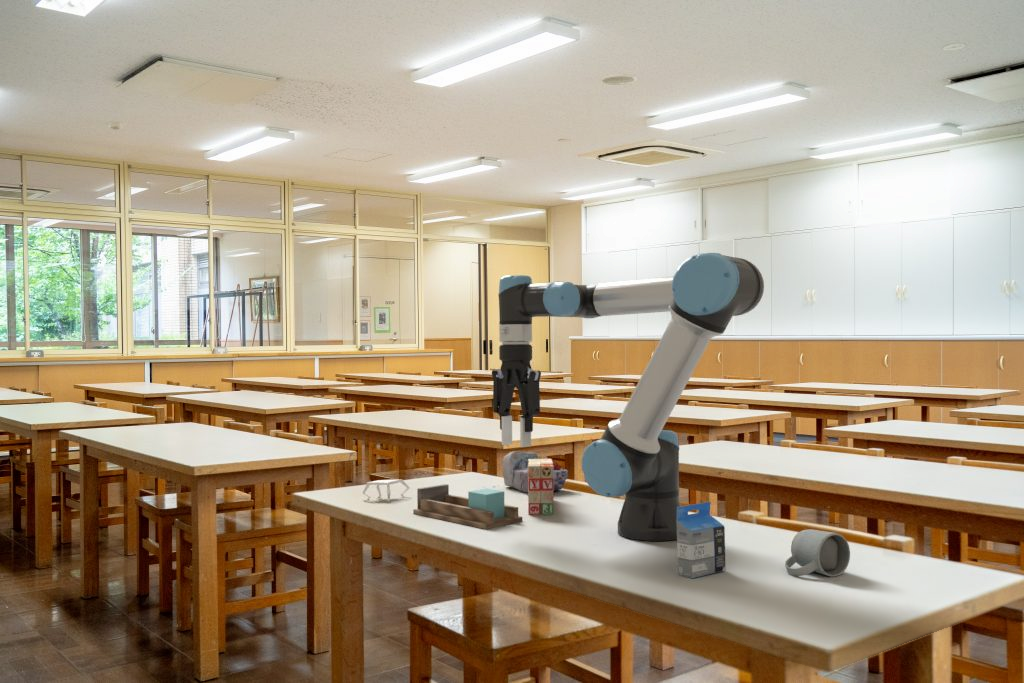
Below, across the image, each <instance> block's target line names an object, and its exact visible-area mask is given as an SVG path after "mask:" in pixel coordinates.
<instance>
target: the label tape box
mask: <svg viewBox="0 0 1024 683" xmlns="http://www.w3.org/2000/svg"><path fill="white" fill-rule="evenodd" d="M711 503H712V502H711V501H707V502H699V503H694V504H686V505H681V506H680V507H677V520H676V524H677V539H676V549H677V550H676V552H677V555H676V556H677V574H678V575H680V576H682V577H685V578H691V579H694V578H699V577H703V576H707V575H711V574H715V573H716V574H717V573H721V572H723V571H726V567H727V566H726V539H725V538H726V537H725V536H726V533H725V532H726V531H725V530H726V529H725V525H724V524H723V523H722V522H720V521H719V520H718V519H716V518H715V517H714V516H712V515H711V514H710V513H711ZM693 510H694V511H698V512H695V513H689V512H693Z"/></svg>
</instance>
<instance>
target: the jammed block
mask: <svg viewBox="0 0 1024 683" xmlns="http://www.w3.org/2000/svg"><path fill="white" fill-rule="evenodd" d="M467 493H468V497H467V498H468V506H469V507H470V508H475V509H480V510H486V511H491V512H494V519H497V518H501V517H504V505H505V491H503V490H499V489H492V488H483V489H477V490H471V491H468V492H467Z"/></svg>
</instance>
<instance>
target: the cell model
mask: <svg viewBox="0 0 1024 683" xmlns="http://www.w3.org/2000/svg"><path fill="white" fill-rule="evenodd" d="M502 458H503V459H502V466H501V467H502V476H503V483H504V485H505V486H506V487H510V488H514V489H516V490H518V491H520V492H523V493H528V459H539V457H538V455H537V453H536V452H523V451H518V450H516V451H514V450H513V451H511V452H509V453H507V454H506V455H504V457H502ZM553 466H554V474H553V479H554V490H553V492H557V491H558V492H559V491H561V490H562V489H563V487H564V485H565V482H566V480H568V475H569V471H568V469H565V468H560V465H559V463H558V462H553Z"/></svg>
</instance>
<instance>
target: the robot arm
mask: <svg viewBox="0 0 1024 683" xmlns="http://www.w3.org/2000/svg"><path fill="white" fill-rule="evenodd" d="M675 270H676V271H675V272H674V274H673V276H663V277H655V278H654V277H653V278H643V279H642V278H641V279H634V280H624V281H615V282H614V281H613V282H605V283H595V284H594V283H593V284H592V283H591V284H574V283H572V282H570V281H558V280H557V281H554V282H553V281H552V282H540V283H533V282H532V281H533V280H532V277H531V276H530V275H521V274H520V275H518V274H517V275H516V274H515V275H512V274H511V275H510V274H509V275H504V276H501V278H500V279H499V283H498V284H499V285H498V287H499V288H498V308H499V311H498V312H499V323H498V324H499V326H498V328H499V329H498V332H499V338H498V340H499V342H500V343H501V344H500V345H499V346H498V348H499V349H498V352H499V354H498V356H499V357H498V358H499V361H501V365H500V368H499V369H495V370H492V371H491V376H492V380H493V385H492V386H493V387H492V388H493V389H492V391H493V392H492V394H493V396H492V411H493V413H495V414H497V415H498V416H499V429H500V430H501V446H506V445H507V446H508V445H513V415H512V412H511V407H512V401H513V397H514V392H515V388H516V389H517V392H518V398H519V403H520V406H521V411H522V412H521V413H522V415H520V419H519V420H520V422H519V423H520V424H519V425H520V427H519V428H520V430H519V431H520V435H519V436H520V439H519V440H520V448H527V447H532V432H533V430H534V428H533V426H534V425H533V424H534V420H533V419H534V417H535V416H538V415H540V414H541V399H540V398H541V396H540V394H541V393H540V380H541V375H542V373H541V371H540V370H534V369H532V365H531V361H532V360H533V345H532V344H530V343H531V342H533V325H532V324H533V318H536V317H537V318H540V317H541V318H542V317H544V318H545V317H547V318H549V317H552V318H553V317H556V318H557V317H558V318H583V319H595V318H599V317H600V318H601V317H607V316H609V317H610V316H625V315H636V314H637V315H638V314H639V315H640V314H641V315H642V314H652V313H653V314H654V313H668V312H669V313H670V315H671V319H670V321H669V323H668V325H667V326H666V328H665V330H664V332H663V334H662V336H661V338H660V340H659V342H658V344H657V345H656V348H655V349H654V351H653V354H652V355H651V357H650V360H649V361H648V363H647V365H646V366H645V369H644V371H643V373H642V374H641V376H640V378H639V380H638V382H637V384H636V386H635V388H634V390H633V392H632V394H631V395H630V398H629V400H628V401H627V403H626V406H625V407H624V410H623V411H622V413H621V415H620V417H619V418H617V419H616V418H615V419H612V420H610V421H609V422H608V424H607V426H606V427H605V430H604V432H603V433H602V435H601V437H600V439H597V440H594V441H592V442H591V443H590V444H588V445H587V446H586V448H585V449H584V451H583V453H582V456H581V462H580V463H581V471H582V473H583V475H584V476H583V479H584V480H585V482H586V483H587V485H588V487H589V488H591V490H592V491H594V492H595V493H597V494H598V495H600V496H602V497H608V498H613V497H615V498H616V497H617V498H618V497H623V496H625V497H624V502H623V503H622V504H623V505H622V507H621V511H620V514H619V518H618V520H617V534H618V535H619V536H621V537H624V538H626V539H627V538H628V539H631V540H637V541H651V542H652V541H653V542H654V541H655V542H656V541H657V542H660V541H661V542H663V541H664V542H665V541H675V540H676V541H677V524H676V520H677V507H680V506H682V504H681V502H680V492H679V491H680V464H679V463H680V445H679V437H678V434H677V432H675V431H673V430H669V429H668V430H667V429H665V430H664V429H663V428H664V426H665V425H666V423H667V421H668V419H670V418H669V417H670V415H671V414H672V412H673V410H674V408H675V407H676V404H677V402H678V401H679V399H680V397H681V395H682V394H683V391H684V390H685V388H686V386H687V384H688V382H689V380H690V379H691V376H692V375H693V373H694V371H695V369H696V367H697V366H698V364H699V363H700V360H701V358H702V357H703V355H704V352H705V351H706V349H707V347H708V345H709V343H710V342H711V340H712V339H713V338H714V337H717V336H718V337H719V336H722V335H723V334H724V332H725V331H726V329H727V327H728V326H729V323H730V322H731V320H732V318H733V317H737V316H742V315H745V314H748V313H749V312H751V311H752V310H754V309H755V308H756V307H757V306H758V305H759V303H760V302H761V300H762V298H763V295H764V291H765V290H764V289H765V282H764V278H763V275H762V273H761V271H760V270H759V268H758V267H757V266H756V265H755V264H754V263H752V262H751V261H749V260H747V259H746V258H740V257H735V256H734V257H733V256H729V255H724V254H721V253H719V252H718V253H717V252H702V253H698V254H695V255H691V256H690V257H688V258H686V259H685V260H684V261H683V262H682V263H681V264H680V265H679V266H678V267H677V269H675Z"/></svg>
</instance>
